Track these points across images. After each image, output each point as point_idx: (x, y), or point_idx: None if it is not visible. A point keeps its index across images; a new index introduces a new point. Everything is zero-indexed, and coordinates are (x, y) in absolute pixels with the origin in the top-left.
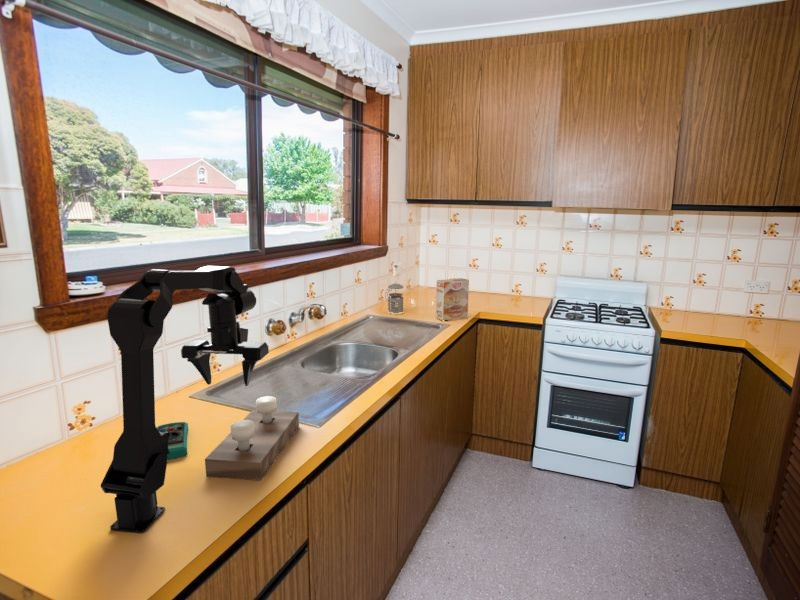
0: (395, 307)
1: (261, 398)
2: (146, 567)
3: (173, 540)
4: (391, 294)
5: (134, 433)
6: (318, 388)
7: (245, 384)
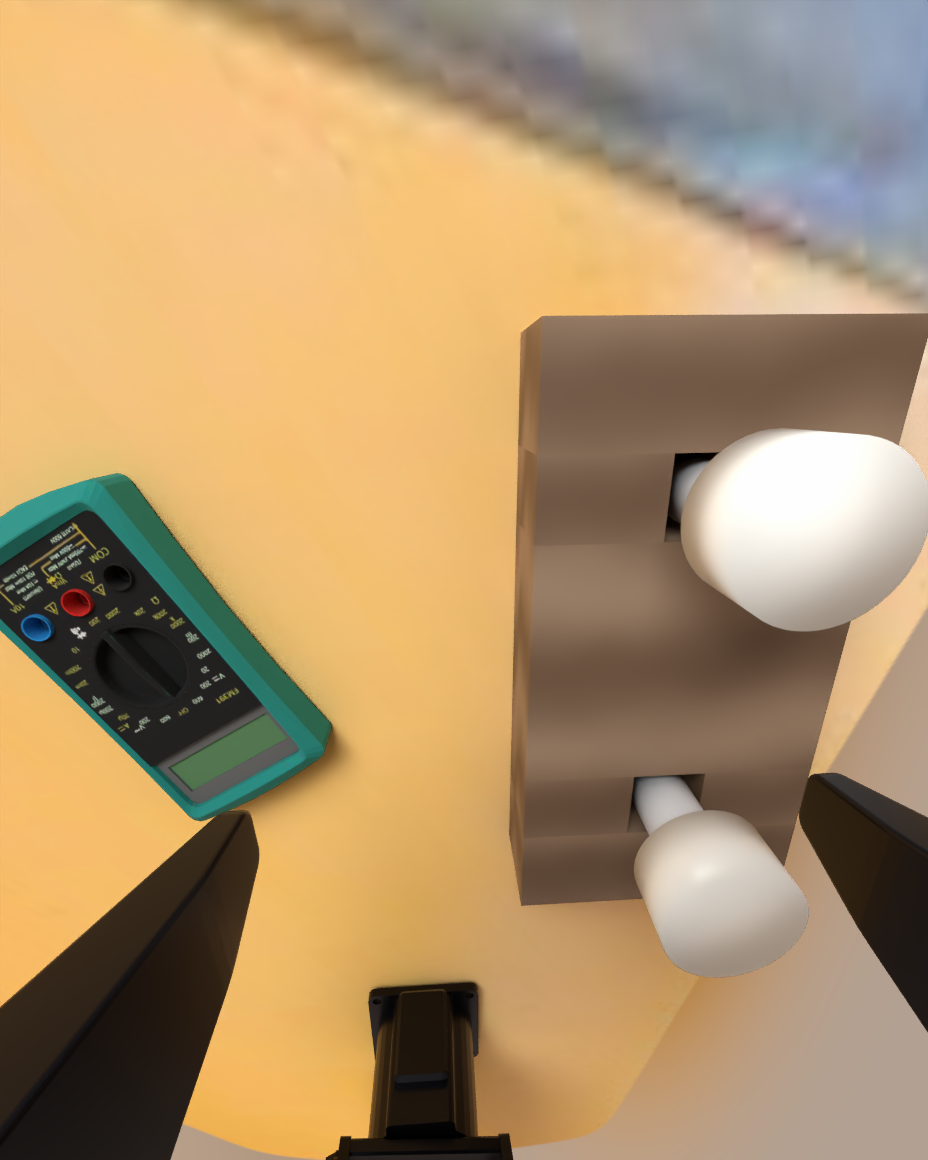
0: None
1: (774, 508)
2: (553, 1102)
3: (568, 1046)
4: None
5: None
6: None
7: (825, 856)
